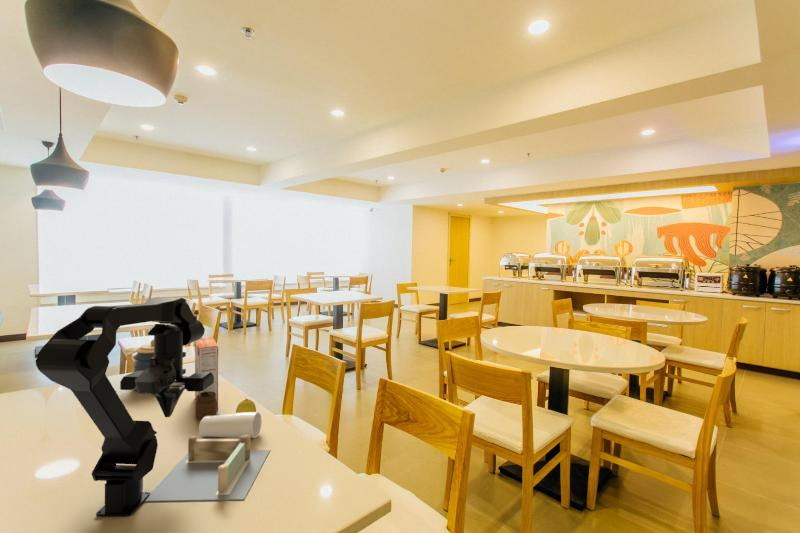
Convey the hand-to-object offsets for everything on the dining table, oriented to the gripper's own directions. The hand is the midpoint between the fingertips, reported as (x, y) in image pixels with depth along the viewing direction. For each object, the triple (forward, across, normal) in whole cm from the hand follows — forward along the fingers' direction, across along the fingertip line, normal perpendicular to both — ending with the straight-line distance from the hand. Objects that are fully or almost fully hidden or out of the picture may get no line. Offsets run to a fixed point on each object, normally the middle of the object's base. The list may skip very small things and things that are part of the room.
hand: (168, 416), depth 87 cm
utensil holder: (+12, -4, +26) cm, 29 cm away
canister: (+12, -36, +51) cm, 63 cm away
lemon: (+12, +10, +21) cm, 26 cm away
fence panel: (+11, +17, -4) cm, 21 cm away
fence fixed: (+12, +11, +3) cm, 16 cm away
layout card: (+12, +12, -2) cm, 17 cm away
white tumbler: (+9, 0, +15) cm, 17 cm away
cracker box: (+12, -9, +36) cm, 39 cm away
